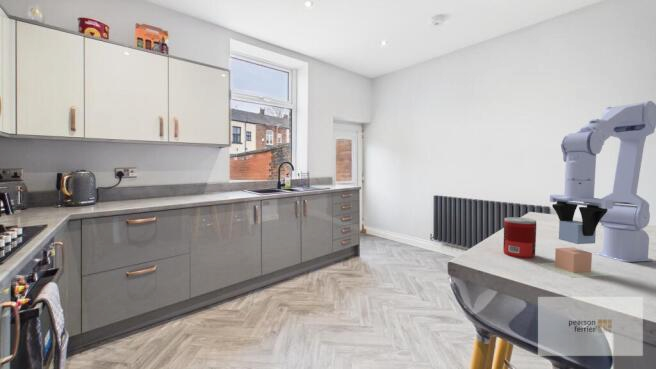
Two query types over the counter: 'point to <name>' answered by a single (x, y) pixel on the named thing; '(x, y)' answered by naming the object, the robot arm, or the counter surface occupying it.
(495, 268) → the counter surface
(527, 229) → the canned food
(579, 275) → the plate
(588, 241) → the blue brick
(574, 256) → the terracotta brick
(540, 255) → the counter surface
